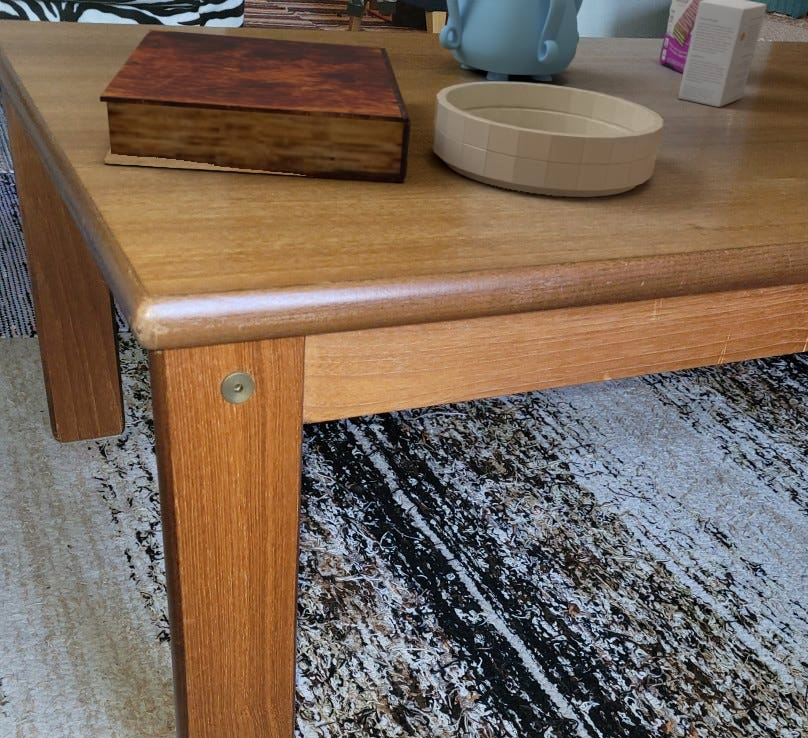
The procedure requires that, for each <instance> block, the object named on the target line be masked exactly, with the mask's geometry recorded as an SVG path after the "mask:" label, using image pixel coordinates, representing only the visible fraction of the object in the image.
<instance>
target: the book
mask: <svg viewBox="0 0 808 738" xmlns="http://www.w3.org/2000/svg"><path fill="white" fill-rule="evenodd" d="M99 101H100V103H101V102H102V103H106V109H107V111H106V112H107V121H108V134H109V146H110V147H111V154H118V155H127V156H137V157H156V158H157V157H158V158H166V159H176V160H184V161H191V162H197V163H208V164H211V165H212V164H214V166H220V167H230V168H239V169H251V170H263V171H270V172H282V173H293V174H300V175H306V176H313V177H312V178H317V177H320V178H319V179H332V180H333V179H336V180H348V181H349V180H351V181H366V182H380V183H381V182H382V183H383V182H384V183H398V182H400V184H404V182H405V179H406V178H407V171H408V159H409V148H410V147H409V146H410V138H411V137H410V136H411V135H410V134H411V123H412V121H411V119H410V116H409V113H408V110H407V107H406V104H405V101H404V98H403V96H402V92H401V90H400V86H399V84H398V80H397V77H396V75H395V71H394V69H393V66H392V63H391V60H390V58H389V55H388V51H387V49H386V48H385V47H382V48H381V47H380V46H379V47H378V46H368V45H366V46H365V45H353V44H341V43H340V44H339V43H329V42H328V43H326V42H315V41H301V40H289V39H288V40H287V39H277V38H276V39H275V38H265V37H264V38H263V37H251V36H250V37H249V36H238V35H237V36H236V35H224V34H212V33H198V32H188V31H187V32H185V31H176V30H175V31H173V30H161V29H149V30H148V31H147V32H146V34H145V35H144V37H143V38H142V39H141V41H140V42H139V43H138V45H137V46H136V47H135V48H134V50H133V51H132V52H131V54H130V56H129V57H128V58H127V59H126V61H125V62H124V63H123V65H122V66H121V67H120V69H119V70H118V71H117V73H116V74H115V75H114V77H113V78H112V79H111V80H110V82H109V84H108V85H107V86H106V87H105V89H104V90H103V91H102V92H101V94H100V95H99ZM110 147H109V148H110Z"/></svg>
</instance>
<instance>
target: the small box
mask: <svg viewBox="0 0 808 738" xmlns="http://www.w3.org/2000/svg"><path fill="white" fill-rule="evenodd" d="M767 6H768V4H767V3H763V2H757V1H751V0H748V1H746V0H704V1H700V2H699V5H698V10H697V14H696V18H695V23H694V27H693V32H692V36H691V41H690V46H689V50H688V54H687V58H686V63H685V67H684V72H683V73H682V77H681V81H680V85H679V90H678V93H677V99H678V100H683V101H688V102H692V103H696V104H701V105H706V106H711V107H716V108H722V107H723V106H727V105H729V104H731V103H733V102H736V101H738V100H741V99H742V98H743V96H744V93H745V88H746V85H747V81H748V77H749V74H750V70H751V67H752V63H753V59H754V56H755V51H756V48H757V45H758V42H759V41H758V40H759V37H760V32H761V29H762V25H763V22H764V18H765V13H766V10H767Z"/></svg>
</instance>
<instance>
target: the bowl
mask: <svg viewBox="0 0 808 738" xmlns="http://www.w3.org/2000/svg"><path fill="white" fill-rule="evenodd" d="M433 117H434V118H433V126H432V127H433V128H432V138H431V147H432V151H433V153H434V154H435V155H436V156H437V157H439V159H441V160H442V161H443V163H444V164H445V165H446V166H447V167H448V168H450V169H451V170H452V171H454V172H456V173H458V174H459V175H461V176H464V177H466V178H468V179H470V180H473V181H476V182H478V183H482V184H486V185H489V184H490V186H493V185H495V186H494V187H496V186H498V187H497V188H500V187H503V188H502V189H505V188H507V189H506V190H509V189H511V191H514V190H517V191H516V192H520V191H525V192H524V193H526V192H532V193H531V194H533V193H538V194H537V195H540V194H545V195H544V196H550V195H552V196H551V197H563V196H565V197H566V198H595V197H606V196H612V195H617V194H622V193H625V192H628V191H631V190H632V189H635V188H636V187H637V186H638V185H642V184H644V183H645V182H647V181H648V180H650V179H651V178H652V177H653V174H654V170H655V166H656V160H657V156H658V152H659V147H660V142H661V139H662V134H663V129H664V119H663V118H662V117H661V115H660V114H658V112H656V111H653V110H651V109H650V108H648V107H646V106H644V105H641V104H639V103H636V102H633V101H630V100H628V99H624V98H623V97H618V96H614V95H610V94H606V93H602V92H597V91H593V90H587V89H581V88H577V87H569V86H563V85H555V84H548V83H538V82H537V83H536V82H526V81H525V82H524V81H493V80H490V81H474V82H472V81H471V82H466V83H457V84H454V85H450V86H447V87H444V88H442V89H440V91H438V93H436V97H435V107H434V116H433Z"/></svg>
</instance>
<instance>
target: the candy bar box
mask: <svg viewBox="0 0 808 738" xmlns="http://www.w3.org/2000/svg"><path fill="white" fill-rule="evenodd" d="M700 1H704V0H671V3H670V7H669V13H668V16H667V22H666V27H665V32H664V36H663V41H662V46H661V51H660V54H659V60H658V63H660V64H662V65H665V66H666V67H668V68H671V69H673V70H675V71H677V72H679V73H681V74H683V72H684V67H685V63H686V58H687V54H688V50H689V46H690V41H691V36H692V32H693V27H694V23H695V18H696V14H697V10H698V5H699V2H700ZM746 1H749V0H746Z"/></svg>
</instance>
